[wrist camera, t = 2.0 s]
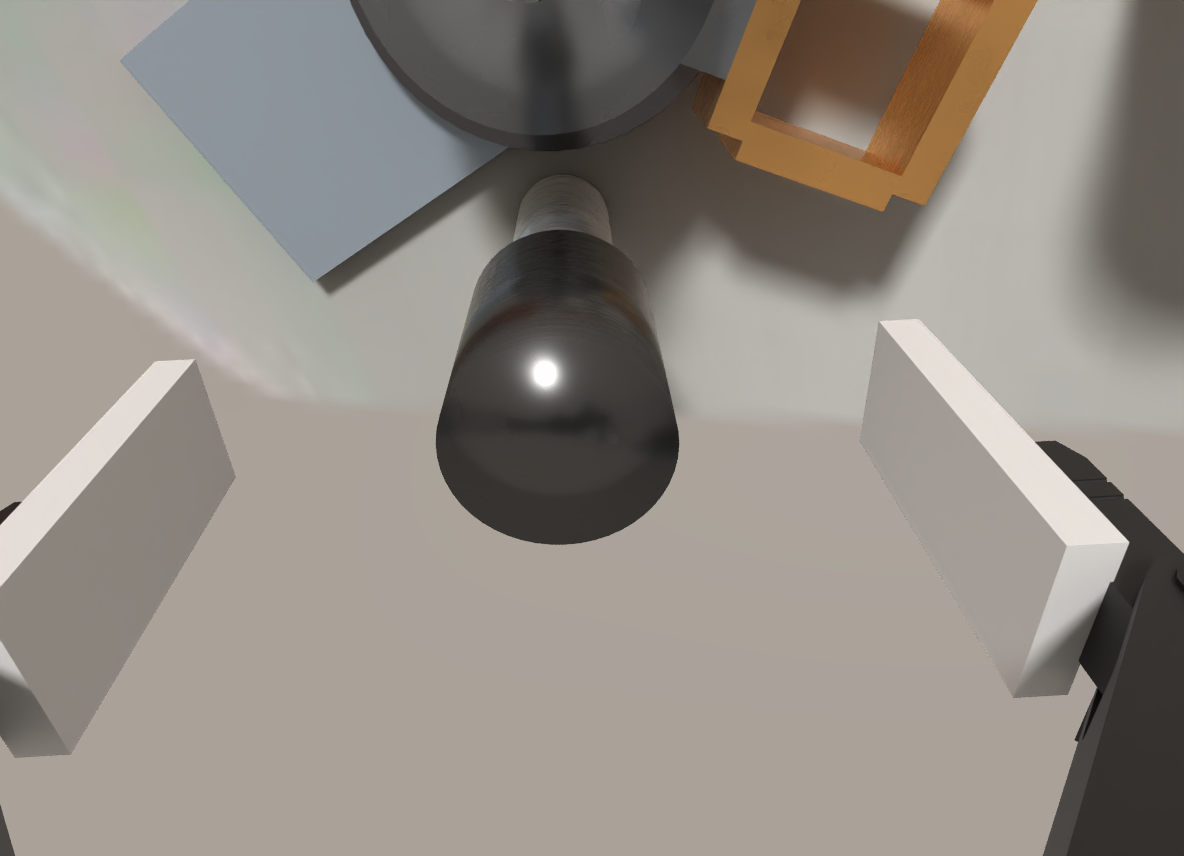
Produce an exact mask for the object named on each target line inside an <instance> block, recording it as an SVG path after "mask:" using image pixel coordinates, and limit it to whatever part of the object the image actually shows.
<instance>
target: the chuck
mask: <svg viewBox="0 0 1184 856" xmlns="http://www.w3.org/2000/svg"><path fill="white" fill-rule="evenodd" d="M800 2H801V0H359V3H360V5H361V7H362V9H363V11H364V13H365V15H366V17H367V19H368V21H369V23H370V25H371V27H372V29H373V30H374V32H375V33H376V35H377V36H378V38H379V39H380V41H381V43H382V44H383V46H384V47H385V49H386V50H387V52H388V53H389V54H390V55H391V57H392V58H393V59H394V60H395V61H396V63H397V64H398V65H399V66H400V67H401V69H402V70H403V71H404V72H405V73H406V74H407V75H408V76H409V77H410V78H411V79H412V80H413V81H414V82H415V83H416V84H417V85H418V86H419V87H420V88H421V89H423V90H424V91H425V92H426V93H428V94H429V95H430V96H432V97H433V98H434V99H436V100H437V101H438V102H440V103H441V104H442V105H444V106H446V107H447V108H449V109H451V110H453V111H454V112H456V113H458V114H460V115H461V116H463V117H465V118H467V119H470V120H472V121H475V122H477V123H480V124H482V125H484V126H487V127H491V128H495V129H498V130H502V131H506V132H511V133H519V134H527V135H556V134H563V133H569V132H576V131H579V130H583V129H586V128H590V127H593V126H597V125H599V124H601V123H604V122H606V121H608V120H610V119H613V118H615V117H617V116H619V115H621V114H622V113H624V112H626V111H627V110H629V109H631V108H632V107H634V106H635V105H637V104H639V103H640V102H641V101H642V100H644V99H645V98H646V97H647V96H649V95H650V94H651V93H652V92H654V91H655V90H656V89H657V88H658V87H659V86H660V85H661V84H662V83H663V82H664V81H665V80H666V79H667V78H668V77H669V76H670V75H671V74H672V73H673V71H674V70H675V69H676V68H677V66H678V65H679V64H680V63H681V64H683V65H686V66H689V67H692V68H694V69H697V70H700V71H702V72H705V74H704V76H703V79H702V82H701V85H700V87H699V90H698V93H697V95H696V98H695V101H694V103H693V106H692V109H693V110H694V111H695V113H696V114H697V115H698V117H699V118H700V119H701V121H702V122H703V123H704V125H705V126H706V127H707V128H708V129H710V130H713V131H716V132H718V135H717V137H718V138H719V140H720V141H721V142H722V144H723V145H724V146H725V148H726V149H727V150H728V151H729V153H730V154H731V155H732V157H733V158H734V159H735V160H737V161H739V162H742V163H745V164H748V165H751V166H754V167H756V168H759V169H762V170H765V171H768V172H771V173H774V174H776V175H779V176H782V177H785V178H788V179H791V180H793V181H796V182H799V183H802V184H805V185H808V186H811V187H813V188H816V189H819V190H822V191H825V192H828V193H830V194H833V195H836V196H839V197H842V198H845V199H848V200H850V201H853V202H856V203H859V204H862V205H865V206H868V207H870V208H873V209H876V210H879V211H882V212H883V211H884V209H885V207H886V205H887V204H888V202H889V200H890V198H891V196H892V194H893V195H895V196H898V197H901V198H904V199H907V200H909V201H912V202H915V203H918V204H921V205H924V206H925V205H926V203H927V201H928V199H929V197H930V195H931V194H932V192H933V190H934V188H935V186H936V184H937V183H938V181H939V179H940V177H941V175H942V174H943V172H944V170H945V168H946V166H947V164H948V163H949V161H950V159H951V157H952V155H953V153H954V152H955V150H956V148H957V146H958V144H959V143H960V141H961V139H962V137H963V135H964V133H965V132H966V130H967V128H968V126H969V124H970V123H971V121H972V119H973V117H974V115H975V113H976V112H977V110H978V108H979V106H980V104H981V102H982V101H983V99H984V97H985V95H986V93H987V92H988V90H989V88H990V86H991V84H992V82H993V81H994V79H995V77H996V75H997V73H998V71H999V70H1000V68H1001V66H1002V64H1003V62H1004V61H1005V59H1006V57H1007V55H1008V53H1009V51H1010V50H1011V48H1012V46H1013V44H1014V42H1015V41H1016V39H1017V37H1018V35H1019V33H1020V31H1021V30H1022V28H1023V26H1024V24H1025V22H1026V20H1027V19H1028V17H1029V15H1030V13H1031V11H1032V10H1033V8H1034V6H1035V4H1036V2H1037V0H940V2H939V4H938V6H937V8H936V10H935V12H934V14H933V16H932V18H931V20H930V22H929V24H928V26H927V28H926V30H925V32H924V34H923V36H922V38H921V40H920V42H919V44H918V46H917V48H916V50H915V53H914V55H913V57H912V59H911V61H910V63H909V65H908V67H907V69H906V71H905V73H904V75H903V77H902V79H901V81H900V83H899V85H898V87H897V89H896V91H895V93H894V95H893V97H892V99H891V101H890V103H889V105H888V107H887V109H886V111H885V113H884V115H883V117H882V119H881V121H880V123H879V125H878V128H877V130H876V132H875V134H874V136H873V138H872V140H871V142H870V144H869V146H868V148H867V150H866V151H864V150H861V149H859V148H856V147H853V146H850V145H848V144H845V143H842V142H839V141H837V140H834V139H831V138H828V137H826V136H823V135H820V134H817V133H815V132H812V131H809V130H807V129H804V128H801V127H798V126H796V125H793V124H790V123H787V122H785V121H782V120H779V119H776V118H774V117H771V116H768V115H766V114H763V113H760V112H757V111H755V110H756V108H757V106H758V103H759V101H760V98H761V96H762V93H763V91H764V89H765V86H766V84H767V81H768V79H769V77H770V74H771V72H772V69H773V67H774V64H775V62H776V60H777V57H778V55H779V52H780V50H781V48H782V45H783V43H784V40H785V38H786V35H787V33H788V31H789V28H790V26H791V23H792V21H793V19H794V16H795V14H796V11H797V9H798V7H799V4H800Z"/></svg>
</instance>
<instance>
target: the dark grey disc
mask: <svg viewBox="0 0 1184 856" xmlns="http://www.w3.org/2000/svg"><path fill="white" fill-rule="evenodd" d="M350 3H351V5H352V8H353V10H354V12H355V14H356V16H357V18H358V20H359V22H360V24H361V26H362V28H363V30H364V32H365V34H366V36H367V37H368V39H369V40H370V42H371V44H372V45H373V47H374V48H375V50H376V52H377V53H378V55H379V56H380V58H381V59H382V61H383V62H384V63H385V64H386V66H387V67H388V68H389V69H390V71H391V72H392V73H393V74H394V76H395V77H396V78H397V79H398V81H399V82H400V83H401V84H402V85H403V86H405V87H406V88H407V89H408V90H409V91H410V92H411V93H412V94H413V95H414V96H415V97H416V98H417V99H418V100H419V101H420V102H421V103H423V104H424V105H425V106H426V107H428V108H429V109H430V110H432V111H433V112H434V113H435V114H437V115H438V116H439V117H441V118H443V119H444V120H446V121H448V122H449V123H451V124H453V125H454V126H456V127H458V128H459V129H461V130H463V131H465V132H468V133H470V134H472V135H474V136H477V137H479V138H481V139H484V140H486V141H490V142H493V143H497V144H500V145H503V146H507V147H512V148H519V149H525V150H532V151H561V150H570V149H578V148H583V147H587V146H591V145H595V144H599V143H603V142H606V141H608V140H610V139H613V138H615V137H618V136H620V135H623V134H625V133H627V132H629V131H631V130H633V129H634V128H636V127H638V126H639V125H641V124H643V123H645V122H646V121H648V120H650V119H651V118H652V117H654V116H655V115H656V114H657V113H659V112H660V111H661V110H663V109H664V108H665V107H667V106H668V105H669V104H670V103H671V102H672V101H673V100H674V99H675V98H676V97H677V96H678V95H679V94H680V93H681V92H683V91H684V90H685V89H686V88H687V87H688V85H689V84H690V83H691V82H692V80H693V79H694V78H695V77H696V75H697V74H698V73H699V72H700V70H697V69H694V68H692V67H689V66H686V65H683V64H681V63H680V64H679V65H678V66H677V68H676V69H675V70H674V71H673V73H672V74H671V75H670V76H669V77H668V78H667V79H666V80H665V81H664V82H663V83H662V84H661V85H660V86H659V87H658V88H657V89H656V90H655V91H654V92H652V93H651V94H650V95H649V96H647V97H646V98H645V99H644V100H642V101H641V102H640V103H639V104H637V105H635V106H634V107H632V108H631V109H629V110H627V111H626V112H624V113H622V114H621V115H619V116H617V117H615V118H613V119H610V120H608V121H606V122H604V123H601V124H599V125H597V126H593V127H590V128H586V129H583V130H579V131H576V132H569V133H563V134H556V135H527V134H519V133H511V132H506V131H502V130H498V129H495V128H491V127H487V126H484V125H482V124H480V123H477V122H475V121H472V120H470V119H467V118H465V117H463V116H461V115H460V114H458V113H456V112H454V111H453V110H451V109H449V108H447V107H446V106H444V105H442V104H441V103H440V102H438V101H437V100H436V99H434V98H433V97H432V96H430V95H429V94H428V93H426V92H425V91H424V90H423V89H421V88H420V87H419V86H418V85H417V84H416V83H415V82H414V81H413V80H412V79H411V78H410V77H409V76H408V75H407V74H406V73H405V72H404V71H403V70H402V69H401V67H400V66H399V65H398V64H397V63H396V61H395V60H394V59H393V58H392V57H391V55H390V54H389V53H388V52H387V50H386V49H385V47H384V46H383V44H382V43H381V41H380V39H379V38H378V36H377V35H376V33H375V32H374V30H373V29H372V27H371V25H370V23H369V21H368V19H367V17H366V15H365V13H364V11H363V9H362V7H361V5H360V3H359V0H350Z"/></svg>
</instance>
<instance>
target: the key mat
mask: <svg viewBox="0 0 1184 856" xmlns="http://www.w3.org/2000/svg"><path fill="white" fill-rule="evenodd" d="M120 62H121V63H122V64H123V66H124V67H125V68H126V69H127V70H128V71H129V72H130V74H131V75H132V76H133V77H134V78H135V79H136V80H137V82H138V83H139V84H140V85H141V86H142V87H143V88H144V90H145V91H146V92H147V93H148V94H149V95H150V96H151V98H152V99H153V100H154V101H155V102H156V103H157V104H158V106H159V107H160V108H161V109H162V110H163V111H164V112H165V114H166V115H167V116H168V117H169V118H170V119H171V120H172V122H173V123H174V124H175V125H176V126H177V127H178V128H179V130H180V131H181V132H182V133H183V134H184V135H185V136H186V138H187V139H188V140H189V141H190V142H191V143H192V144H193V146H194V147H195V148H196V149H197V150H198V151H199V153H200V154H201V155H202V156H203V157H204V158H205V159H206V161H207V162H208V163H209V164H210V165H211V166H212V167H213V169H214V170H215V171H216V172H217V173H218V174H219V175H220V177H221V178H222V179H223V180H224V181H225V182H226V183H227V185H228V186H229V187H230V188H231V189H232V190H233V191H234V193H235V194H236V195H237V196H238V197H239V198H240V199H241V201H242V202H243V203H244V204H245V205H246V206H247V207H248V209H249V210H250V211H251V212H252V213H253V214H254V215H255V217H256V218H257V219H258V220H259V221H260V222H261V223H262V225H263V226H264V227H265V228H266V229H267V230H268V231H269V233H270V234H271V235H272V236H273V237H274V238H275V240H276V241H277V242H278V243H279V244H280V245H281V246H282V248H283V249H284V250H285V251H286V252H287V253H288V254H289V256H290V257H291V258H292V259H293V260H294V261H295V262H296V264H297V265H298V266H299V267H300V268H301V269H302V270H303V272H304V273H305V274H306V275H307V276H308V277H309V278H310V280H311V281H312V282H314V281H316V280H317V279H319V278H320V277H321V276H323V275H324V274H326V273H327V272H329V271H330V270H332V269H333V268H334V267H336V266H337V265H339V264H340V263H342V262H343V261H345V260H346V259H348V258H349V257H350V256H352V255H353V254H355V253H356V252H358V251H359V250H361V249H362V248H363V247H365V246H366V245H368V244H369V243H371V242H372V241H374V240H375V239H377V238H378V237H379V236H381V235H382V234H384V233H385V232H387V231H388V230H390V229H391V228H393V227H394V226H395V225H397V224H398V223H400V222H401V221H403V220H404V219H406V218H407V217H408V216H410V215H411V214H413V213H414V212H416V211H417V210H419V209H420V208H422V207H423V206H424V205H426V204H427V203H429V202H430V201H432V200H433V199H435V198H436V197H438V196H439V195H440V194H442V193H443V192H445V191H446V190H448V189H449V188H451V187H452V186H453V185H455V184H456V183H458V182H459V181H461V180H462V179H464V178H465V177H467V176H468V175H469V174H471V173H472V172H474V171H475V170H477V169H478V168H480V167H481V166H483V165H484V164H485V163H487V162H488V161H490V160H491V159H493V158H494V157H496V156H497V155H498V154H500V153H501V152H503V151H504V150H506V149H507V148H509V147H507V146H503V145H500V144H497V143H493V142H490V141H486V140H484V139H481V138H479V137H477V136H474V135H472V134H470V133H468V132H465V131H463V130H461V129H459V128H458V127H456V126H454V125H453V124H451V123H449V122H448V121H446V120H444V119H443V118H441V117H439V116H438V115H437V114H435V113H434V112H433V111H432V110H430V109H429V108H428V107H426V106H425V105H424V104H423V103H421V102H420V101H419V100H418V99H417V98H416V97H415V96H414V95H413V94H412V93H411V92H410V91H409V90H408V89H407V88H406V87H405V86H403V85H402V84H401V83H400V82H399V81H398V79H397V78H396V77H395V76H394V74H393V73H392V72H391V71H390V69H389V68H388V67H387V66H386V64H385V63H384V62H383V61H382V59H381V58H380V56H379V55H378V53H377V52H376V50H375V48H374V47H373V45H372V44H371V42H370V40H369V39H368V37H367V36H366V34H365V32H364V30H363V28H362V26H361V24H360V22H359V20H358V18H357V16H356V14H355V12H354V10H353V8H352V5H351V3H350V0H189V1H188V2H187V3H186V4H185V5H184V6H182V7H181V8H180V9H179V10H178V11H177V12H175V13H174V14H173V15H172V16H171V17H170V18H168V19H167V20H166V21H165V22H164V23H163V24H161V25H160V26H159V27H158V28H157V29H156V30H154V31H153V32H152V33H151V34H150V35H149V36H147V37H146V38H145V39H144V40H143V41H142V42H141V43H139V44H138V45H137V46H136V47H135V48H134V49H132V50H131V51H130V52H129V53H128V54H127V55H125V56H124V57H123V58H122V59H121V60H120Z"/></svg>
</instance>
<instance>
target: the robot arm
mask: <svg viewBox="0 0 1184 856" xmlns="http://www.w3.org/2000/svg"><path fill="white" fill-rule="evenodd" d="M860 443H861V444H862V446H863V448H864V449H865V451H866V453H867V454H868V455H869V458H870V459H871V461H872V463H873V464H874V466H875V468H876V469H877V471H878V473H879V474H880V476H881V478H882V479H883V481H884V483H885V484H886V486H887V488H888V489H889V491H890V493H891V495H892V496H893V498H894V500H895V501H896V503H897V504H898V506H899V508H900V510H901V511H902V513H903V515H904V516H905V518H906V520H907V521H908V523H909V524H910V526H911V528H912V530H913V531H914V533H915V534H916V536H917V538H918V540H919V541H920V543H921V545H922V546H923V548H924V549H925V551H926V553H927V555H928V556H929V558H930V560H931V561H932V563H933V565H934V566H935V568H936V570H937V571H938V573H939V575H940V576H941V578H942V580H943V581H944V583H945V584H946V586H947V588H948V590H949V591H950V593H951V595H952V596H953V598H954V600H955V601H956V603H957V605H958V606H959V608H960V610H961V611H962V613H963V615H964V616H965V618H966V620H967V621H968V623H969V625H970V626H971V628H972V630H973V631H974V633H975V635H976V636H977V638H978V640H979V641H980V643H981V645H982V646H983V648H984V650H985V651H986V653H987V654H988V656H989V658H990V660H991V661H992V663H993V664H994V666H995V668H996V670H997V671H998V673H999V675H1000V676H1001V678H1002V679H1003V681H1004V683H1005V685H1006V686H1007V688H1008V690H1009V691H1010V693H1011V695H1012V696H1013V698H1020V697H1037V696H1053V695H1067V694H1068V693H1069V690H1070V688H1071V685H1072V683H1073V680H1074V678H1075V675H1076V673H1077V671H1078V668H1079V666H1080V664H1081V665H1082V667H1083V668H1084V670H1085V671H1086V672H1087V674H1088V675H1089V676H1090V678H1091V679H1092V681H1093V682H1094V683H1095V685H1096V686H1097V689H1096V691H1095V694H1094V696H1093V698H1092V701H1091V703H1090V705H1089V708H1088V710H1087V712H1086V715H1085V717H1084V719H1083V722H1082V724H1081V726H1080V728H1079V731H1078V733H1077V735H1076V738H1075V741H1078V744H1077V748H1076V751H1075V754H1074V757H1073V761H1072V764H1071V767H1070V770H1069V774H1068V777H1067V780H1066V783H1065V786H1064V789H1063V793H1062V796H1061V799H1060V802H1059V806H1058V809H1057V812H1056V815H1055V818H1054V822H1053V825H1052V828H1051V831H1050V834H1049V838H1048V841H1047V844H1046V847H1045V851H1044V854H1043V856H1184V554H1183V553H1182V552H1181V551H1180V550H1179V549H1178V548H1177V547H1176V546H1175V545H1174V544H1173V543H1172V542H1171V541H1170V540H1169V539H1168V538H1167V537H1166V536H1165V535H1164V534H1163V533H1162V532H1161V531H1160V530H1159V529H1158V528H1157V527H1156V526H1155V525H1154V524H1153V523H1152V522H1151V521H1149V519H1148V518H1147V517H1146V516H1145V515H1144V514H1143V513H1142V512H1141V511H1140V510H1139V509H1138V508H1137V507H1136V506H1135V505H1134V504H1133V503H1132V502H1131V501H1129V500H1128V499H1124V497H1123V496H1124V495H1123V494H1122V493H1121V492H1120V491H1119V490H1118V489H1117V488H1116V487H1115V486H1114V485H1113V484H1112V483H1111V482H1107V478H1106V477H1105V476H1104V475H1103V474H1102V473H1101V472H1100V471H1099V470H1098V469H1097V468H1096V467H1095V466H1094V465H1093V464H1092V463H1091V462H1090V461H1089V460H1088V459H1087V458H1086V457H1084V456H1082V455H1080V454H1079V453H1077V452H1075V451H1073V450H1071V449H1070V448H1067V447H1066V446H1064V445H1062V444H1060V443H1059V442H1057V441H1041V442H1034V441H1033V440H1032V439H1031V438H1030V437H1029V435H1028V434H1027V433H1026V432H1025V431H1024V430H1023V429H1022V428H1021V427H1020V426H1019V425H1018V424H1017V423H1016V422H1015V421H1014V420H1013V419H1012V417H1011V416H1010V415H1009V414H1008V413H1007V412H1006V411H1005V410H1004V409H1003V408H1002V407H1001V406H1000V405H999V404H998V403H997V402H996V401H995V399H994V398H993V397H992V396H991V395H990V394H989V393H988V392H987V391H986V390H985V389H984V388H983V387H982V386H981V385H980V384H979V383H978V381H977V380H976V379H975V378H974V377H973V376H972V375H971V374H970V373H969V372H968V371H967V370H966V369H965V368H964V367H963V366H962V365H961V363H960V362H959V361H958V360H957V359H956V358H955V357H954V356H953V355H952V354H951V353H950V352H949V351H948V350H947V349H946V348H945V347H944V345H943V344H942V343H941V342H940V341H939V340H938V339H937V338H936V337H935V336H934V335H933V334H932V333H931V332H930V331H929V330H928V329H927V327H926V326H925V325H924V324H923V323H922V322H921V321H920V320H919V319H910V320H892V321H879V324H878V330H877V336H876V343H875V349H874V355H873V361H872V368H871V374H870V380H869V387H868V393H867V399H866V405H865V412H864V418H863V424H862V430H861V437H860ZM234 479H235V474H234V471H233V468H232V465H231V462H230V459H229V456H228V453H227V450H226V447H225V445H224V442H223V439H222V436H221V433H220V430H219V427H218V424H217V421H216V418H215V415H214V412H213V410H212V407H211V404H210V401H209V398H208V395H207V392H206V389H205V386H204V384H203V381H202V377H201V374H200V372H199V369H198V366H197V363H196V360H195V359H191V360H173V361H156V362H154V363H153V364H152V365H151V366H150V368H149V369H148V370H147V371H146V372H145V373H144V374H143V375H142V376H141V377H140V378H139V379H138V380H137V381H136V382H135V383H134V384H133V385H132V386H131V387H130V389H129V390H128V391H127V392H126V393H125V394H124V395H123V396H122V397H121V398H120V399H119V400H118V401H117V402H116V403H115V404H114V406H113V407H112V408H111V409H110V410H109V411H108V412H107V413H106V414H105V415H104V416H103V417H102V418H101V419H100V420H99V421H98V422H97V424H95V426H94V427H93V428H92V429H91V430H90V431H89V432H88V433H87V434H86V435H85V436H84V437H83V438H82V439H81V440H80V441H79V442H78V444H77V445H76V446H75V447H74V448H73V449H72V450H71V451H70V452H69V453H68V454H67V455H66V456H65V457H64V459H62V461H60V463H59V464H58V465H57V466H56V467H55V468H54V469H53V470H52V471H51V472H50V473H49V474H48V475H47V476H46V477H45V478H44V480H43V481H42V482H41V483H40V484H39V485H38V486H37V487H36V488H35V489H34V490H33V491H32V492H31V493H30V494H29V495H28V496H27V498H26V499H25V500H24V501H23V502H14V503H12V504H11V505H9V506H8V507H6V508H4V509H3V510H1V511H0V736H1V738H2V739H3V741H4V742H5V744H6V745H7V747H8V748H9V749H10V751H11V752H12V754H13V755H14V757H15V758H18V757H19V758H20V757H36V756H53V755H69V754H71V753H72V751H73V750H74V748H75V746H76V745H77V743H78V741H79V740H80V738H81V736H82V734H83V733H84V731H85V730H86V728H87V726H88V724H89V723H90V721H91V719H92V718H93V716H94V714H95V713H96V711H97V709H98V708H99V706H100V704H101V702H102V701H103V699H104V698H105V696H106V694H107V693H108V691H109V689H110V688H111V686H112V684H113V682H114V681H115V679H116V677H117V676H118V674H119V672H120V671H121V669H122V667H123V666H124V664H125V662H126V661H127V659H128V657H129V656H130V654H131V652H132V650H133V649H134V647H135V645H136V644H137V642H138V640H139V639H140V637H141V635H142V634H143V632H144V630H145V629H146V627H147V625H148V624H149V622H150V620H151V619H152V617H153V615H154V613H155V612H156V610H157V608H158V607H159V605H160V603H161V602H162V600H163V598H164V597H165V595H166V593H167V592H168V590H169V588H170V587H171V585H172V583H173V582H174V580H175V578H176V577H177V575H178V573H179V571H180V570H181V568H182V566H183V565H184V563H185V561H186V560H187V558H188V556H189V554H190V553H191V551H192V549H193V548H194V546H195V545H196V543H197V541H198V539H199V538H200V536H201V534H202V533H203V531H204V529H205V528H206V526H207V524H208V523H209V521H210V519H211V518H212V516H213V514H214V513H215V510H216V509H217V507H218V506H219V504H220V502H221V501H222V499H223V497H224V496H225V494H226V492H227V491H228V489H229V487H230V486H231V484H232V482H233V481H234ZM0 856H15V854H14V851H13V847H12V844H11V840H10V837H9V834H8V830H7V827H6V823H5V820H4V816H3V813H2V809H1V806H0Z"/></svg>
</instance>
